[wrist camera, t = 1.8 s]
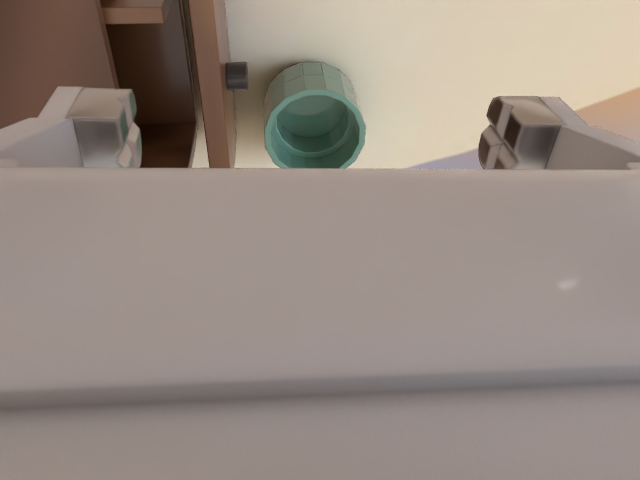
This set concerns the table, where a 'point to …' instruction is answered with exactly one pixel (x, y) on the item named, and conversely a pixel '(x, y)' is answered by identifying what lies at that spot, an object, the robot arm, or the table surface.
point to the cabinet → (50, 53)
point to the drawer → (176, 77)
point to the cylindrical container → (313, 118)
